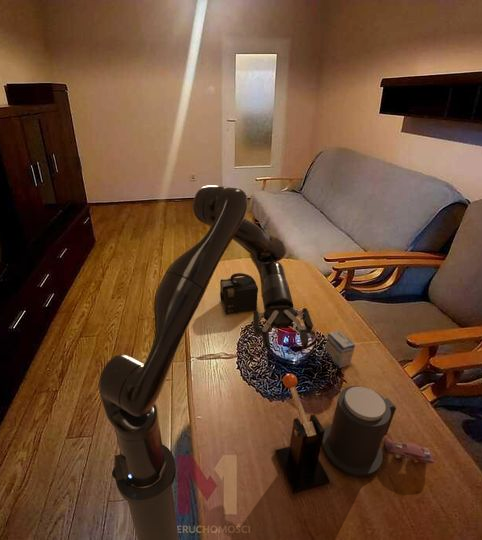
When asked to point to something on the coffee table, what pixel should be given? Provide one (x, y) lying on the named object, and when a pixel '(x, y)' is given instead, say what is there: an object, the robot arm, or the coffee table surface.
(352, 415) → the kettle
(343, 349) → the medicine box
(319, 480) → the switch stand
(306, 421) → the orange knob lever
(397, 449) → the pink elongated piece
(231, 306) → the camera
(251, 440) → the coffee table surface
